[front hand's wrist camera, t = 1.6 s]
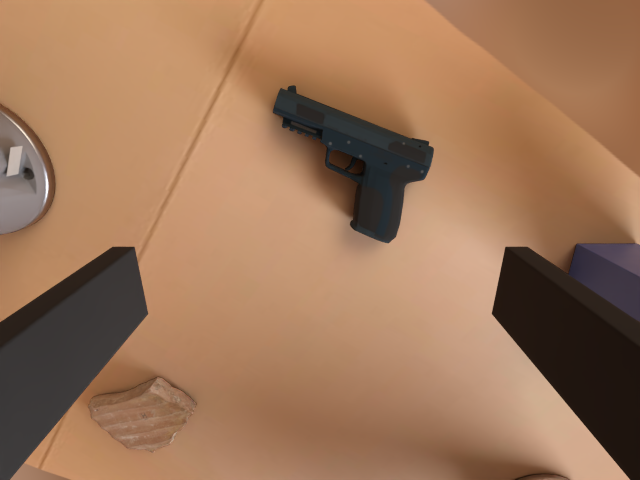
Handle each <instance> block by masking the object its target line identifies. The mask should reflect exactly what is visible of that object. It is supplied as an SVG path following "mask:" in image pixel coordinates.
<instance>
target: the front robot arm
mask: <svg viewBox="0 0 640 480" xmlns="http://www.w3.org/2000/svg"><path fill="white" fill-rule="evenodd" d="M54 192H55V176H54V170H53V167H52V163H51V160H50V158H49V155H48V153H47V151H46V149H45V147H44V146H43V144H42V142H41V141H40V139H39V138H38V136H37V135H36V134H35V133H34V131H33V130H32V129H31V128H30V127H29V126H28V125H27V124H26V123H25V122H24V121H23V120H22V119H21V118H19V117H18V116H17V115H16V114H14V113H13V112H11V111H10V110H9V109H7V108H5V107H4V106H2V105H0V235H1V234H7V233H12V232H15V231H18V230H21V229H23V228H26V227H28V226H30V225H32V224H34V223H36V222H37V221H38V220H40V219H41V218H42V217H43V216H44V215H45V214H46V212H47V211H48V209H49V207H50V206H51V203H52V201H53V197H54ZM147 315H148V311H147V306H146V301H145V296H144V291H143V286H142V281H141V277H140V272H139V267H138V262H137V257H136V252H135V247H112V248H110V249H109V250H107V251H106V252H104V253H103V254H101V255H100V256H98V257H97V258H95V259H94V260H92V261H91V262H89V263H88V264H86V265H85V266H83V267H82V268H80V269H79V270H78V271H76V272H75V273H73V274H72V275H70V276H69V277H67V278H66V279H64V280H63V281H61V282H60V283H58V284H57V285H55V286H54V287H52V288H51V289H49V290H48V291H46V292H45V293H43V294H42V295H40V296H39V297H37V298H36V299H34V300H33V301H31V302H30V303H28V304H27V305H25V306H24V307H22V308H21V309H19V310H18V311H16V312H15V313H13V314H12V315H10V316H9V317H7V318H6V319H4V320H3V321H1V322H0V480H10V479H11V478H12V476H13V475H14V474H15V473H16V472H17V470H18V469H19V468H20V467H21V466H22V464H23V463H24V462H25V461H26V460H27V458H28V457H29V456H30V455H31V454H32V452H33V451H34V450H35V449H36V448H37V446H38V445H39V444H40V443H41V442H42V440H43V439H44V438H45V437H46V436H47V434H48V433H49V432H50V431H51V430H52V428H53V427H54V426H55V425H56V424H57V422H58V421H59V420H60V419H61V418H62V416H63V415H64V414H65V413H66V412H67V410H68V409H69V408H70V407H71V406H72V404H73V403H74V402H75V401H76V400H77V398H78V397H79V396H80V395H81V394H82V392H83V391H84V390H85V389H86V388H87V386H88V385H89V384H90V383H91V382H92V380H93V379H94V378H95V377H96V376H97V374H98V373H99V372H100V371H101V370H102V369H103V367H104V366H105V365H106V364H107V363H108V361H109V360H110V359H111V358H112V357H113V355H114V354H115V353H116V352H117V351H118V349H119V348H120V347H121V346H122V345H123V343H124V342H125V341H126V340H127V339H128V337H129V336H130V335H131V334H132V333H133V331H134V330H135V329H136V328H137V327H138V325H139V324H140V323H141V322H142V321H143V319H144V318H145V317H146V316H147ZM492 315H493V316H494V317H495V318H496V319H497V321H498V322H499V323H500V324H501V325H502V327H503V328H504V329H505V330H506V331H507V333H508V334H509V335H510V336H511V337H512V339H513V340H514V341H515V342H516V343H517V345H518V346H519V347H520V348H521V349H522V351H523V352H524V353H525V354H526V355H527V357H528V358H529V359H530V360H531V361H532V363H533V364H534V365H535V366H536V367H537V369H538V370H539V371H540V372H541V373H542V374H543V376H544V377H545V378H546V379H547V380H548V382H549V383H550V384H551V385H552V386H553V388H554V389H555V390H556V391H557V392H558V394H559V395H560V396H561V397H562V398H563V400H564V401H565V402H566V403H567V404H568V406H569V407H570V408H571V409H572V410H573V412H574V413H575V414H576V415H577V416H578V418H579V419H580V420H581V421H582V422H583V424H584V425H585V426H586V427H587V428H588V430H589V431H590V432H591V433H592V434H593V436H594V437H595V438H596V439H597V440H598V442H599V443H600V444H601V445H602V446H603V448H604V449H605V450H606V451H607V452H608V454H609V455H610V456H611V457H612V458H613V460H614V461H615V462H616V463H617V464H618V466H619V467H620V468H621V469H622V470H623V472H624V473H625V474H626V475H627V476H628V478H629V479H630V480H640V321H638V320H636V319H634V318H633V317H631V316H630V315H628V314H627V313H625V312H624V311H622V310H621V309H619V308H618V307H616V306H615V305H613V304H612V303H610V302H609V301H607V300H606V299H604V298H603V297H601V296H600V295H598V294H597V293H595V292H594V291H592V290H591V289H589V288H588V287H586V286H585V285H583V284H582V283H580V282H579V281H577V280H576V279H574V278H573V277H571V276H570V275H568V274H567V273H565V272H564V271H562V270H561V269H560V268H558V267H557V266H555V265H554V264H552V263H551V262H549V261H548V260H546V259H545V258H543V257H542V256H540V255H539V254H537V253H536V252H534V251H533V250H531V249H530V248H528V247H505V252H504V257H503V262H502V267H501V272H500V277H499V281H498V286H497V291H496V296H495V301H494V306H493V311H492Z"/></svg>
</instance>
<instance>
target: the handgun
mask: <svg viewBox="0 0 640 480" xmlns="http://www.w3.org/2000/svg"><path fill="white" fill-rule="evenodd" d="M273 113H275V114H277V115H280V116H282V117H283V124H282V127H283V128H287V127H290V129H289V130H291V131H294V130H295V129H296V130H298V132H297V133H298V134H301V133H302V132H304V133H305V136H306V137H308V136H309V135H312V136H313V138H312V139H314V140H316V138H319V139H321V140H320V142H321V143H323V144H325V145H326V147H327V152H326V159H325V164H326V167H328V168H329V169H331V170H333V171H335V172H338V173H340V174H342V175H344V176H346V177H348V178H351V179H352V180H354V181H355V182H357V183H359V184H358V186H357V190H356V196H355V205H354V215H353V220H352V221H351V222H350V225H351V227H352V228H353V229H354V230H355V231H358V232H360V233H362V234H364V235H367V236H369V237H371V238H374V239H376V240H379V241H381V242H385V243H389V242H391V241H392V240H393V239H394V238H395V237H396V235H397V231H398V228H399V225H400V220H401V213H402V207H403V199H404V188H405V185H406V184H407V183H410V182H415V181H421V180H424V179H425V177H426V175H427V173H428V171H429V167H430V166H431V162H432V158H433V152H434V149H433V147H430V146H428V145H429V141H425V140H420V139H414V138H412V139H410V138H408V137H405V136H402V135H400V134H397V133H395V132H392V131H390V130H387V129H385V128H382V127H380V126H377V125H375V124H372V123H370V122H367V121H365V120H362V119H360V118H357V117H355V116H352V115H349V114H347V113H344V112H342V111H339V110H337V109H334V108H332V107H329V106H327V105H324V104H322V103H319V102H316V101H314V100H311V99H309V98H306V97H304V96H301V95H299V94H297V93H296V86H289V87H288V90H285V89H282V88H281V89H280V91H279V93H278V96H277V99H276V102H275V105H274V109H273ZM332 150H339V151H341V152H344V153H346V154H349V155H352V156H353V157H352V160H351V163H350V165H349V166H348V167H347V168H345V170H344V169H341V168H339V167H337V166H335V165H333V164H331V163H330V162H329V154H330V152H331V151H332ZM357 159H359V160H362V161H364V163H363V169H362V172H361V173H360V174H354V173H350V172H348V170H350V169H351V168H352V167H353V166H354V164H355V162H356V160H357Z"/></svg>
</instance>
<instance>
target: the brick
mask: <svg viewBox="0 0 640 480" xmlns="http://www.w3.org/2000/svg"><path fill="white" fill-rule="evenodd" d="M568 275H570V276H571V277H573V278H574V279H576V280H577V281H579V282H580V283H582V284H583V285H585V286H586V287H588V288H589V289H591V290H592V291H594V292H595V293H597V294H598V295H600V296H601V297H603V298H604V299H606V300H607V301H609V302H610V303H612V304H613V305H615V306H616V307H618V308H619V309H621V310H622V311H624V312H625V313H627V314H628V315H630V316H631V317H633V318H634V319H636V320H638V321H640V245H639V244H577V245H576V249H575V252H574V256H573V259H572V263H571V267H570V270H569V274H568Z"/></svg>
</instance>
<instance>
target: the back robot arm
mask: <svg viewBox="0 0 640 480" xmlns="http://www.w3.org/2000/svg"><path fill="white" fill-rule="evenodd" d="M518 480H568V479H566V478H564V477H561V476H557V475H551V474H539V475H531V476H527V477H523V478H520V479H518Z"/></svg>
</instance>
